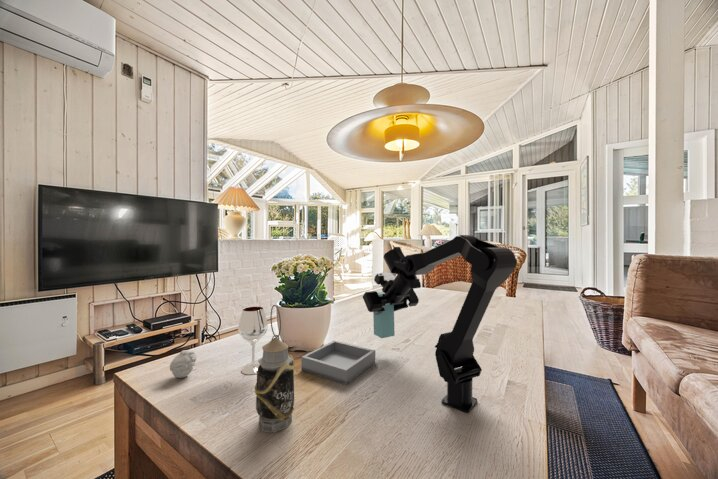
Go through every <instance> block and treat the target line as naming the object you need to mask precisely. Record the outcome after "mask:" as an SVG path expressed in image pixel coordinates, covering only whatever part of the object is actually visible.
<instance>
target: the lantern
mask: <svg viewBox="0 0 718 479" xmlns="http://www.w3.org/2000/svg"><path fill="white" fill-rule="evenodd" d="M274 307H275V308H276V311H277V312H278V318H279V319H278V320H279V331H278V334H275V331H274V328H273V322H272V321H273V318H272V317H273V316H272V315H273V309H274ZM269 320H270V327H271V332H272V334H273V336H272V337H271V340H270V341H269V342H268V343H266V344H264V345H262V347H261V349H262V350H263V352H262V356H261V358H259V359H258V361H257V362H258V364H260V366H259V367H258V369H257V374H256V383H255V386H254V393H255V397H256V398H255V399H256V400H255V409H256V412H257V414H258V416H259V417H258V424H259V426H260V428H261V431H262V432H266V433H272V432H273V433H276V432H278V430H279V431H282V430H285V429H287V428H288V427H289V426H290V425H291V422H292V421H293V419H292V418H293V416H292V415H293V412H294V410H295V407H294V406H295V379H294V378H295V377H294V376H295V375H294V374H295V373H294V372H295V371H294V369H295V366H296V363H295V361H296V360H295V359H294V357H293V356H292V354H289V351H288V349H289V348H290V347H289V346H288V344H286V343H284V341H283V340H281V339H280V336H281V331H282V318H281V313H280V310H279V307H278V305H276V304H273V305H272V307H271V309H270V319H269Z"/></svg>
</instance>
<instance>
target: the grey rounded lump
mask: <svg viewBox="0 0 718 479" xmlns="http://www.w3.org/2000/svg"><path fill="white" fill-rule="evenodd" d="M196 361H197V354H196V352H195V351H192V350H189V349H188V350H187V349H185V350H184V349H183V350H181V351H180V353H178V354H177V355H176V356H174V358H173V360H172V361H171V362H170V365H169V370H170V372H171V373H172V375H173V376H174V377H175V378H177V379H183V378H185V377H187V376H188V375H190V374H191V372H192V371H193V369H194V368H193V367H194V366H195V364H196Z"/></svg>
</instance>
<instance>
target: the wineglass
mask: <svg viewBox="0 0 718 479" xmlns="http://www.w3.org/2000/svg"><path fill="white" fill-rule="evenodd" d="M268 327H269V326H268V319H267V317H266V313H265V309H264V307H262V306H248V307H245V308H243V309H242V312H241V314H240V319H239V323H238V328H237V331H238V334H239V335H240V337H241V338H242V339H243V340H245V341H246V342H248V344H250V346H251V364H249V365H248V364H247V365H246V366H243V368H241V373H242V374H243V375H247V376H248V375H257V369H258V367H259V366H260V364H259V363H256V362H255V361H256V360H255V359H256V358H255V357H256V356H255V355H256V354H255V352H256V351H255V350H256V349H255V348H256V347H255V346H256V344H257V343H258V342H259V341H260V340H261V339H262V338H263V337H264V336H265V334H267V331H268Z"/></svg>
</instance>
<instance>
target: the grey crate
mask: <svg viewBox="0 0 718 479" xmlns="http://www.w3.org/2000/svg"><path fill="white" fill-rule="evenodd" d="M375 364H376V350H375V349H371V348H367V347H362V346H359V345H354V344H351V343H346V342H342V341H339V340H332V341H330V342H328V343H326V344H325V345H322V346H320V347H319V348H316V349H314V350H312V351H310V352H308V353H306V354H304V355H302V356H301V365H300V367H301V371H302V372H305V373H307V374H311V375H315V376H317V377H321V378H324V379H327V380H329V381H331V382H336V383H338V384H341V385H344V386H347V385H349V384H350V383H351V382H353V381H354V380H355V379H356V378H358V377H359V376H360V375H362V374H363V373H365V372H366V371H367V370H368V369H370V368H371V367H373V365H375Z"/></svg>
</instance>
